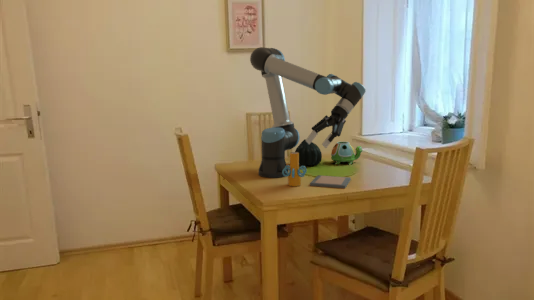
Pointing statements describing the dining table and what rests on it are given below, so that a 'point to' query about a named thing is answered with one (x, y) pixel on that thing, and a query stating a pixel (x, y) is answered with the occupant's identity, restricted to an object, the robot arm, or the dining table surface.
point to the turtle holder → (345, 153)
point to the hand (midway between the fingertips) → (315, 144)
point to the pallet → (330, 181)
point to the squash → (309, 153)
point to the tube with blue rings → (294, 170)
